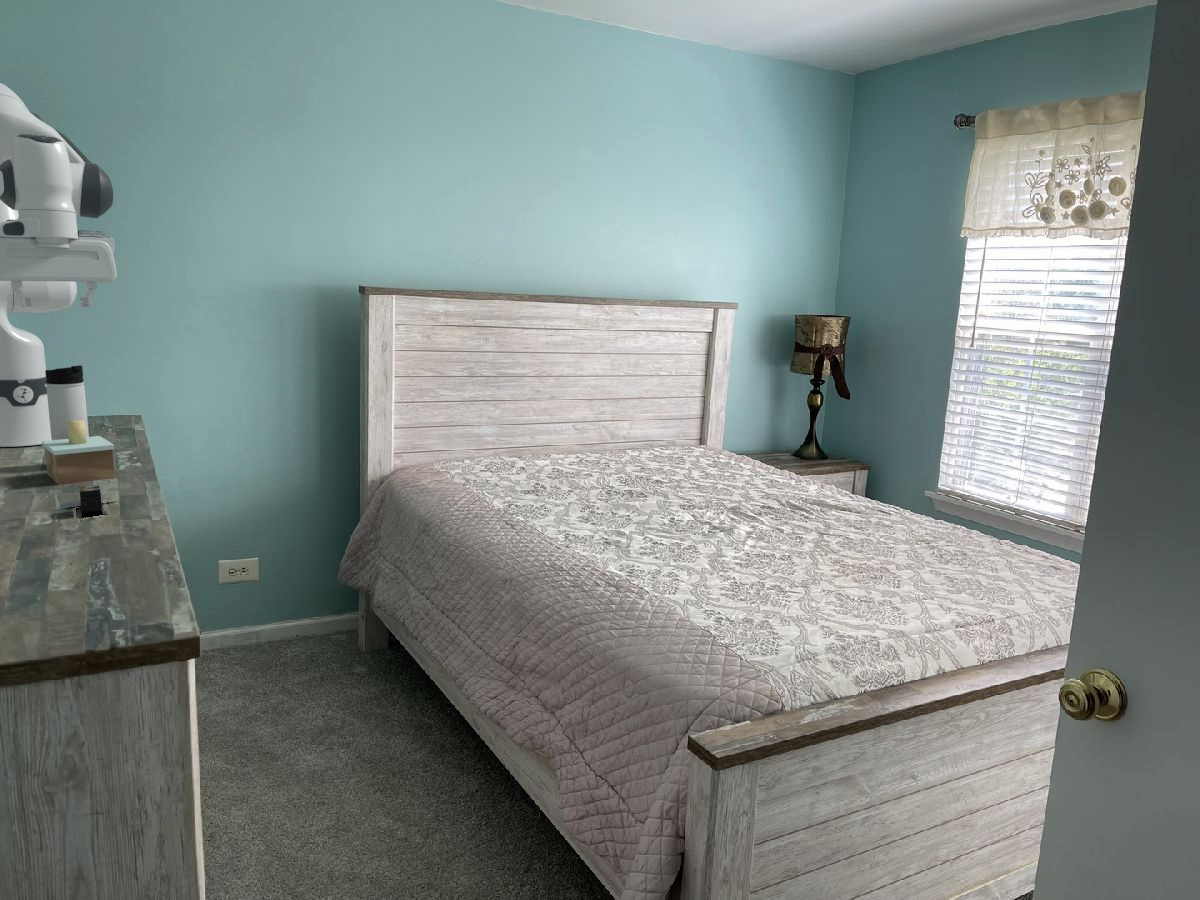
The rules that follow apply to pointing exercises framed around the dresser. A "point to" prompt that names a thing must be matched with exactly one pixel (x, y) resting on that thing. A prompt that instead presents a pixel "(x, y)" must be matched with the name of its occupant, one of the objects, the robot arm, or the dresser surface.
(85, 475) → the box
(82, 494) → the black stepped block
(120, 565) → the dresser surface
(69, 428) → the lid
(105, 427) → the dresser surface
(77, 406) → the travel mug
